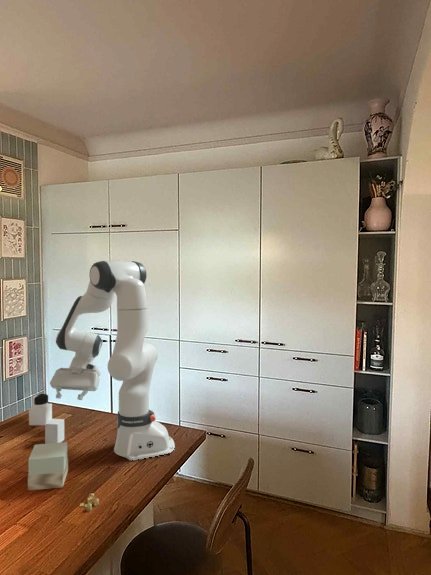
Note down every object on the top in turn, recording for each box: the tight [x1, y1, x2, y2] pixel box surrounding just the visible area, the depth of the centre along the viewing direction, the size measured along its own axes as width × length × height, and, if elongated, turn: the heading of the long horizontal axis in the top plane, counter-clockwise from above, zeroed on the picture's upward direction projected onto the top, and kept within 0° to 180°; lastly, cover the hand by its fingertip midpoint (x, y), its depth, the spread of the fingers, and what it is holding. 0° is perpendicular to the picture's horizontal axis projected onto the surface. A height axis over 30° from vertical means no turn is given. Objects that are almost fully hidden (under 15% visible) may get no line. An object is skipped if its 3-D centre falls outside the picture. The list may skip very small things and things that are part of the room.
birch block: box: [27, 456, 69, 491], centre depth 126 cm, size 10×10×5 cm
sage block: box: [28, 441, 68, 476], centre depth 125 cm, size 10×10×5 cm
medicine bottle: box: [28, 393, 53, 426], centre depth 170 cm, size 7×7×12 cm
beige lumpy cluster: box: [79, 492, 100, 512], centre depth 114 cm, size 5×5×2 cm
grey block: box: [44, 418, 65, 444], centre depth 152 cm, size 5×5×8 cm
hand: (68, 398), depth 162 cm, fingers open, 8 cm apart
